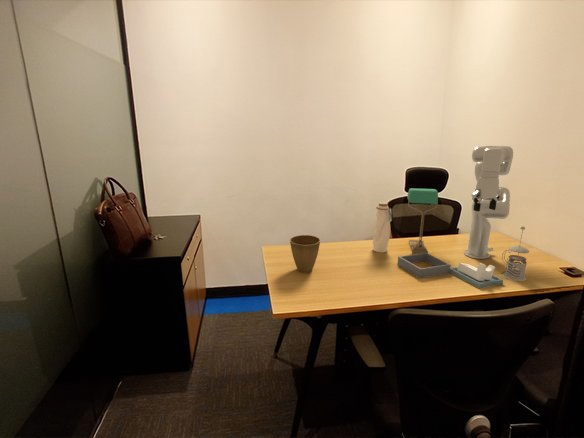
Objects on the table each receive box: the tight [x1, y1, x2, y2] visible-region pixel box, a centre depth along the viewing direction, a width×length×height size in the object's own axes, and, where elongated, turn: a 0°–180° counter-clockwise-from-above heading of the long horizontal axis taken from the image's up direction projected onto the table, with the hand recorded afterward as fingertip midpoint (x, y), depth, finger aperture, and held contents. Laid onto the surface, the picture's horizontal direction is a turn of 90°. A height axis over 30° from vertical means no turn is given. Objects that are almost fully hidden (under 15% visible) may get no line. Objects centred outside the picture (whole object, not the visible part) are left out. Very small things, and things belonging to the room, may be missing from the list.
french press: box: [501, 226, 530, 282], centre depth 162 cm, size 10×12×25 cm
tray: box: [449, 264, 504, 289], centre depth 163 cm, size 14×19×2 cm
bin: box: [397, 252, 451, 279], centre depth 173 cm, size 18×18×4 cm
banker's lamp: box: [406, 187, 439, 254], centre depth 199 cm, size 16×21×35 cm
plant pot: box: [289, 234, 321, 273], centre depth 171 cm, size 15×15×16 cm
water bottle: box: [372, 201, 393, 253], centre depth 196 cm, size 10×9×28 cm
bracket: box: [457, 262, 496, 281], centre depth 162 cm, size 13×7×8 cm, turn 18°
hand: (484, 210), depth 167 cm, fingers open, 9 cm apart
